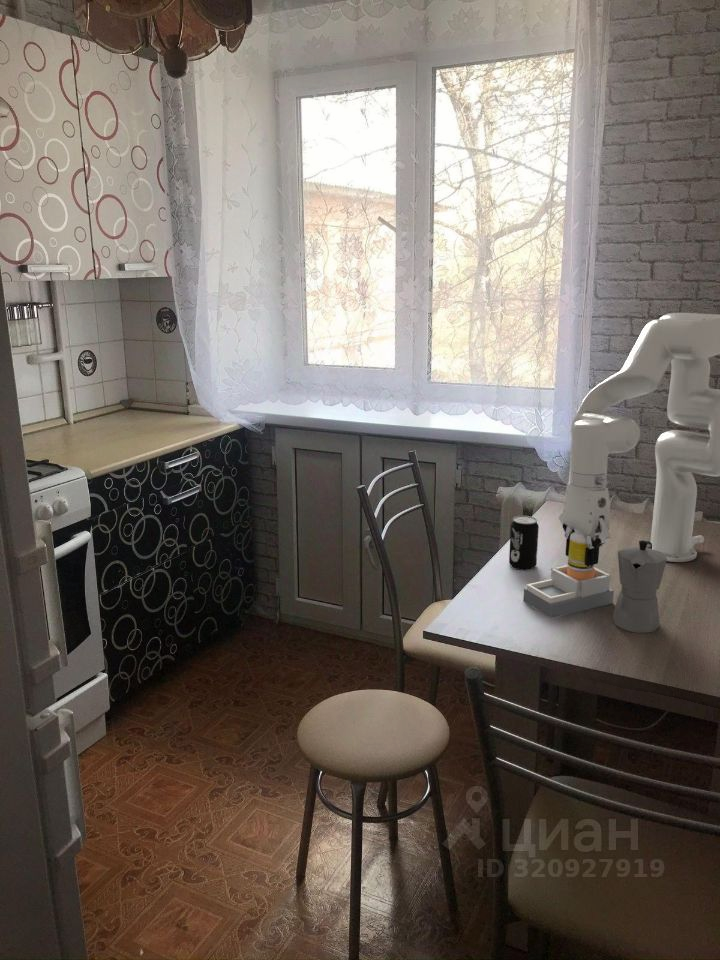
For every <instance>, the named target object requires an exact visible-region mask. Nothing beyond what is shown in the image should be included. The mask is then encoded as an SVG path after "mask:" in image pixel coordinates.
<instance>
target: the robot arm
mask: <svg viewBox="0 0 720 960" xmlns="http://www.w3.org/2000/svg"><path fill="white" fill-rule="evenodd" d="M718 355H720V314H714V313H697V312H670V313H666V314H664V315H662V316H661V317H659V318H658V319H657V318H656V319H653V320H651V321H648V323H647V324H646V325H644V327H643V329H642V330H641V332H640V334H639V336H638V338H637V340H636V342H635V344H634V345H633V348H632V350H631V351H630V352H629V355H628V357H627V359H626V360H625V362H624V364H623V366H622V368H621V369H620V370H619V371H618V372H616V373H615V374H613V375H611V376H609V377H608V378H606V379H604V380H603V381H602V382H600V383H599V384H597V385H596V386H595V387H593V388H592V389H591V390H590V391H589V392H588V393H587V394H586V396H585V397H584V398H583V400H582V401H581V404H580V405H579V407H578V409H577V411H576V413H575V416H574V417H573V420H572V423H571V428H570V430H571V431H570V434H571V445H570V446H571V447H570V457H569V458H570V459H569V475H568V476H569V477H568V482H567V485H566V488H565V492H564V499H563V506H562V512H561V514H560V515H558V521H560V524H561V525H562V529H563V531H564V538H566V539H565V540H566V543H565V553H564V555H565V556H566V557H568V555H569V543H570V535H571V534H572V533H573V532H575V531H574V529H577V530H579V531H581V532H582V533H585V534H586V535H587V542H588V547H587V548H586V552H585V565H586V566H590V565H594V566H595V565H598V563H599V557H600V556H599V555H600V548H602V546H603V545H604V544H605V543H606V542H607V541H608V540H611V538H612V536H611V533H610V531H609V530H610V520H611V519H610V518H611V515H610V514H611V505H610V504H611V503H610V501H611V500H610V493H609V488H607V487H606V486H607V485H608V480H607V474H608V471H607V470H608V461H609V454H615V453H616V454H619V453H627V452H629V451H631V450H632V449H634V448H635V447H636V446H637V444H638V443H639V441H640V439H641V438H640V437H641V428H640V426H639V424H638V423H637V422H636V421H634V420H633V419H632V418H630V417H625V416H620V415H614V414H610V413H609V414H608V413H604V412H605V411H606V410H607V409H608V408H610V407H612V406H613V405H615V404H618V403H620V402H623V401H626V400H630V399H634V398H638V397H641V396H644V395H648V394H650V393H653V392H654V391H655V390H657V388H658V386H659V385H660V383H661V381H662V379H663V377H664V376H665V373H666V371H667V369H668V368H669V366H670V364H671V366H670V367H671V373H670V380H669V381H670V382H669V390H668V399H667V406H666V407H667V408H666V413H667V414H666V415H667V418H668V420H669V421H670V422H671V423H674V424H676V425H679V426H684V427H692V428H697V429H703V430H708V432H709V434H704V433H699V432H694V431H687V430H678V429H671V430H667V431H665V432H662V433H661V434H660V435H659V436H658V437H657V440H656V443H655V448H654V454H655V463H656V464H655V465H656V480H655V482H656V484H655V492H654V502H653V504H654V505H653V512H652V523H651V531H650V534H651V535H650V542H651V543H652V550H656V551H659V552H662V553H663V554H664V556H665V557H666V558H667V561H666V562H671V563H687V562H690V561H693V560H695V559H696V558H697V555H698V552H697V550H696V549H695V548H694V546H696V544H701V543H704V542H705V537H704V536H703V535H702V534H700V535H695V536H693V530H694V522H695V514H696V504H697V503H696V502H697V495H698V486H697V483H696V480H695V478H694V475H693V474H698V475H703V476H709V477H720V389H717V388H710V385H709V382H710V377H711V376H710V374H711V364H710V360H709V359H710V358H711V357H715V356H718ZM592 536H595V540H594V541H593V537H592Z"/></svg>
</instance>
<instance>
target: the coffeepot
mask: <svg viewBox="0 0 720 960" xmlns="http://www.w3.org/2000/svg"><path fill="white" fill-rule="evenodd" d="M638 544H639V546H638V547H636V546H635V547H633V546H627V547H624V548H622V549H619V550H618V551H617V559H618V560H617V561H618V572H619V573H618V574H619V582H620V585H621V588H620V589H621V590H620V591H619V593H618V597H617V600H616V604H615V607H614V610H613V614H612V620H613V624H614V625H615V626H616V627H617V628H619V629H621V630H624V631H627V632H630V633H636V634H648V633H653V632H655V631H656V629H658V628H660V616H659V615H660V614H659V603H658V597H657V590H659V589H660V585H661V583H662V579H663V576H664V573H665V568H666V563H667V562H668V561H667V558H666V557H665V556H664V554H663V553H662V552H659V551H656V550H652V543H651V540H650V541H648V540H639V541H638Z"/></svg>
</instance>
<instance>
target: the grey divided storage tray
mask: <svg viewBox="0 0 720 960" xmlns="http://www.w3.org/2000/svg"><path fill="white" fill-rule="evenodd" d="M593 567H594V578H591V579H586V580H582V581H580V582H579V581H577V580H576V579H574V578H572V577H570V576H568V575H567V569H568V564H565V565H561V566H556V567H554V568H551V575H550V576H551V577H550V578H549V579H546V580H541V581H537V582H532V583H527V584H526V587H524V588H523V598H522V600H523V602H525V603H526V604H527V605H529V606H530V607H533V608H534V609H535V610H537V611H539V612H541V613H542V614H544V615H545V616H547V617H548V618H550V619H554V618H558V617H563V616H567V615H571V614H575V613H579V612H582V611H587V610H591V609H594V608H599V607H603V606H607V605H611V604H613V603H614V594H615V592H614V590H615V589H612V588H611V587H610V583H611V581H610V580H611V574H609V573H607V572H605V571H603V570H601V569H600V568H597V567H596V566H593ZM579 588H580V590H579Z"/></svg>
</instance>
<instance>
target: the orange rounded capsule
mask: <svg viewBox="0 0 720 960" xmlns="http://www.w3.org/2000/svg"><path fill="white" fill-rule="evenodd" d="M594 567H595V566H593V569H592V570H590V571H585V572H582V571H576V570H572V569H570V568H569V567H568V569H567V575H568V576H570V577H572V578H574V579H576V580H577V581H579V582H580V581H582V580H586V579H591V578H594ZM579 590H580V588H579Z"/></svg>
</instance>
